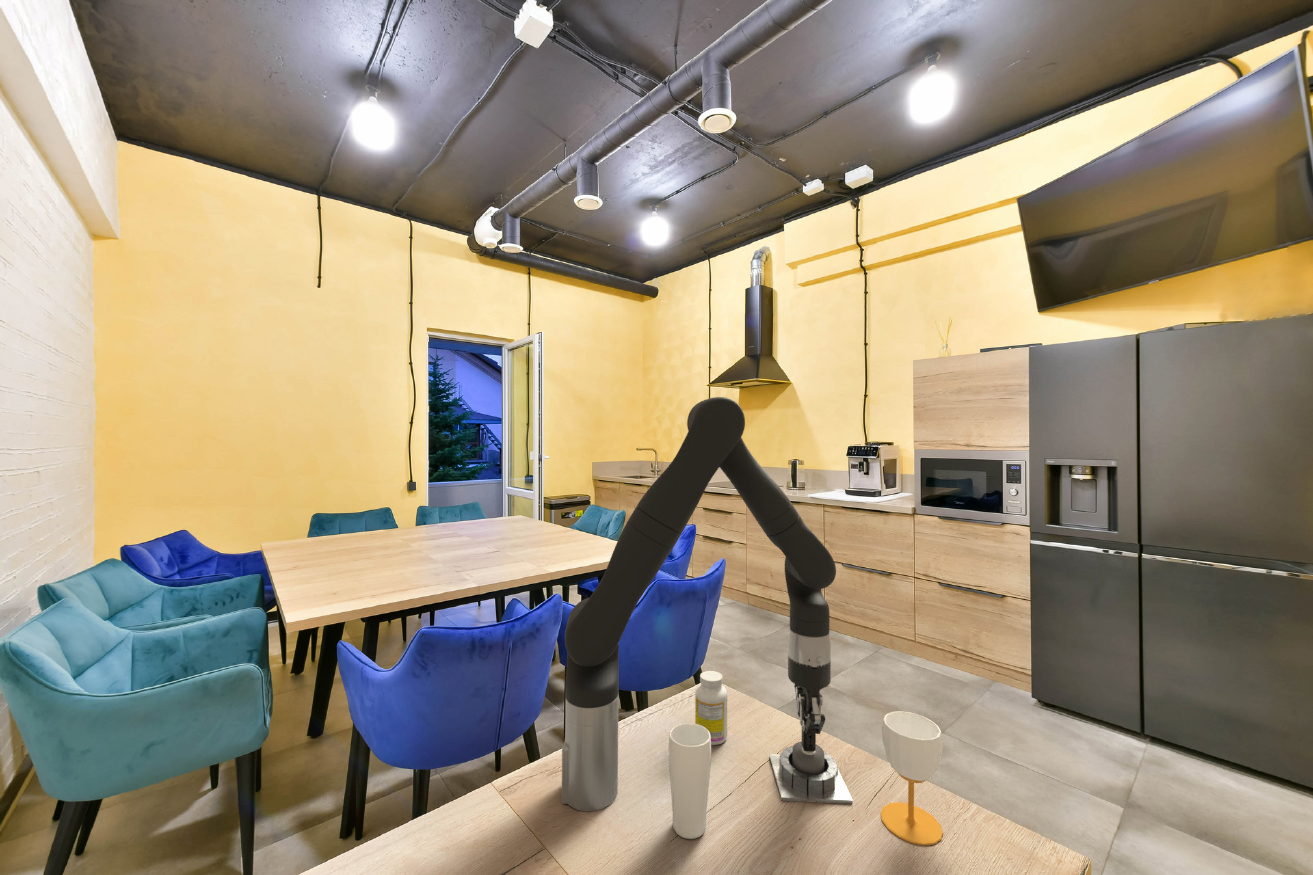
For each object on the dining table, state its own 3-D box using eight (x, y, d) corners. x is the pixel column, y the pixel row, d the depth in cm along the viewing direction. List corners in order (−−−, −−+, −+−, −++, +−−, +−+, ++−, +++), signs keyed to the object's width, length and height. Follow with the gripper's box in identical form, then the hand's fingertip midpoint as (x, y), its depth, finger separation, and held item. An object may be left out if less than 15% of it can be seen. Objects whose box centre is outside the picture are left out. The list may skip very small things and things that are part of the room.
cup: (911, 798, 88) (912, 706, 88) (956, 837, 80) (957, 735, 80) (868, 809, 85) (869, 714, 85) (910, 851, 77) (911, 745, 77)
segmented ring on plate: (781, 800, 87) (781, 782, 87) (769, 756, 99) (769, 741, 99) (852, 803, 87) (852, 785, 87) (831, 759, 99) (831, 743, 99)
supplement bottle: (705, 724, 110) (705, 665, 110) (732, 735, 107) (733, 673, 107) (689, 739, 105) (689, 677, 105) (717, 750, 101) (717, 686, 101)
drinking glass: (708, 848, 77) (709, 749, 77) (664, 840, 78) (665, 743, 78) (712, 815, 84) (713, 724, 84) (672, 809, 85) (672, 720, 85)
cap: (796, 785, 90) (796, 759, 90) (789, 764, 96) (789, 740, 96) (828, 786, 90) (828, 760, 90) (819, 765, 96) (819, 740, 96)
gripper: (781, 639, 100) (780, 727, 100) (796, 670, 87) (796, 771, 87) (819, 640, 100) (819, 729, 100) (841, 671, 86) (840, 773, 86)
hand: (808, 748), depth 93 cm, fingers closed
